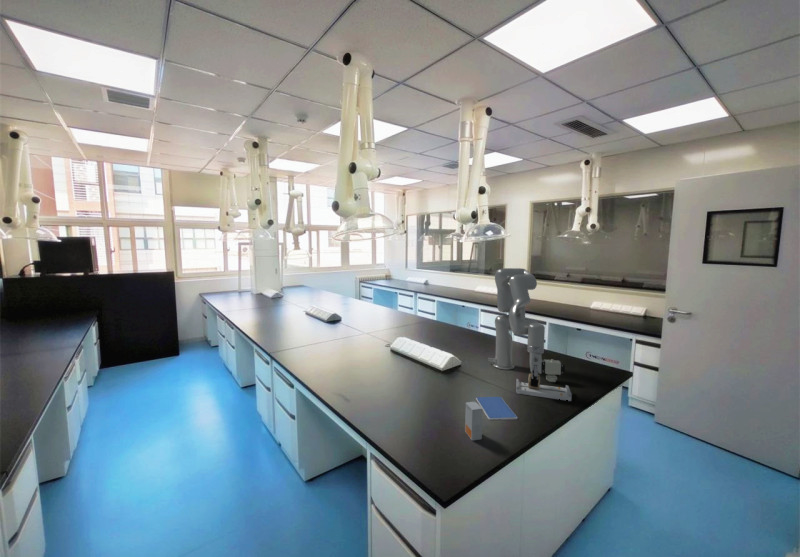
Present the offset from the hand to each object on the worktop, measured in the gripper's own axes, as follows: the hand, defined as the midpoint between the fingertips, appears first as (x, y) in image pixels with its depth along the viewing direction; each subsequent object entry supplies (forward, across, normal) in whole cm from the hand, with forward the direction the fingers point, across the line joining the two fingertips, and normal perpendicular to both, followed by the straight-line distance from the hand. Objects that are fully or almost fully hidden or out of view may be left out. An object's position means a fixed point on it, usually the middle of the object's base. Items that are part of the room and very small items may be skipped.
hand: (534, 384), depth 157 cm
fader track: (+4, 0, -4) cm, 5 cm away
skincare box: (+4, -49, +24) cm, 55 cm away
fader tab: (+1, 0, 0) cm, 1 cm away
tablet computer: (+4, -24, +17) cm, 30 cm away
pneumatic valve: (+4, +18, -10) cm, 21 cm away
